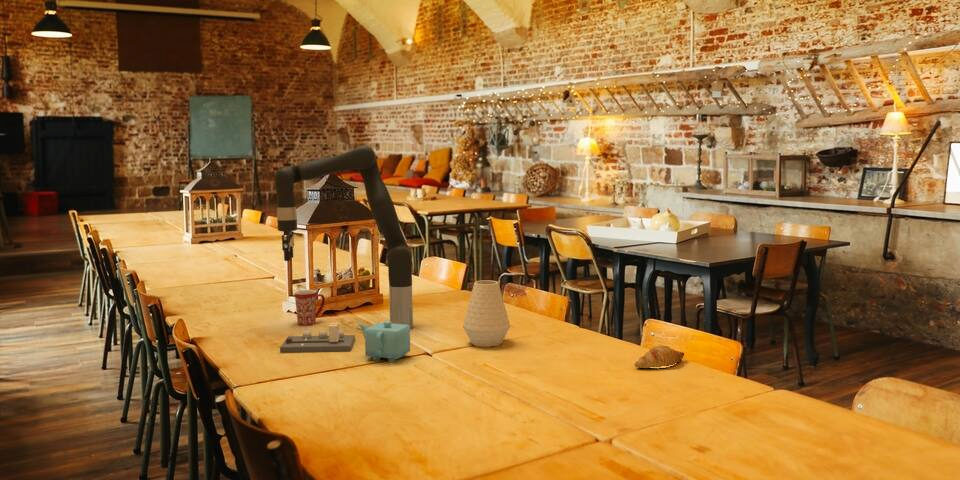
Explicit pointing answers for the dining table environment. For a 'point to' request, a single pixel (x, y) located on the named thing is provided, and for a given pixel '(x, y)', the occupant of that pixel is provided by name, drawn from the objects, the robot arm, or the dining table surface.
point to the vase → (486, 315)
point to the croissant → (659, 357)
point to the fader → (333, 332)
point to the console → (317, 343)
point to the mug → (307, 306)
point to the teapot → (386, 340)
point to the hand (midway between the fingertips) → (288, 259)
